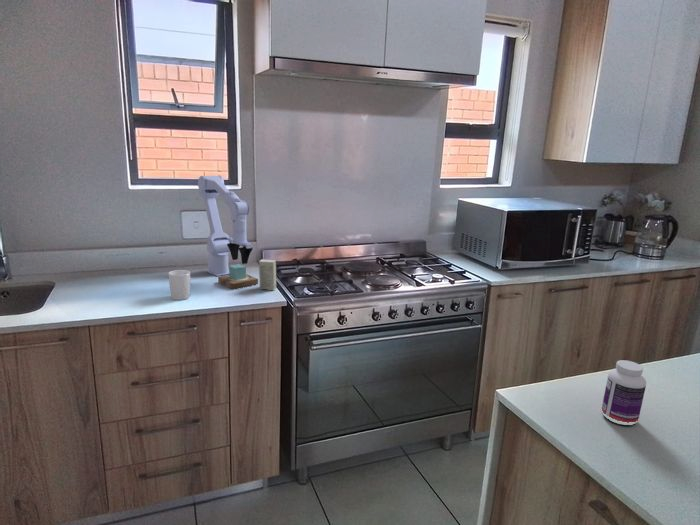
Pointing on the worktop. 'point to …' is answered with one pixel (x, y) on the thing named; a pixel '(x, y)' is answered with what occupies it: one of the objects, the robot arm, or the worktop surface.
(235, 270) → the teal block
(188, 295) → the white cup
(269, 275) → the skincare box
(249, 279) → the walnut plinth
